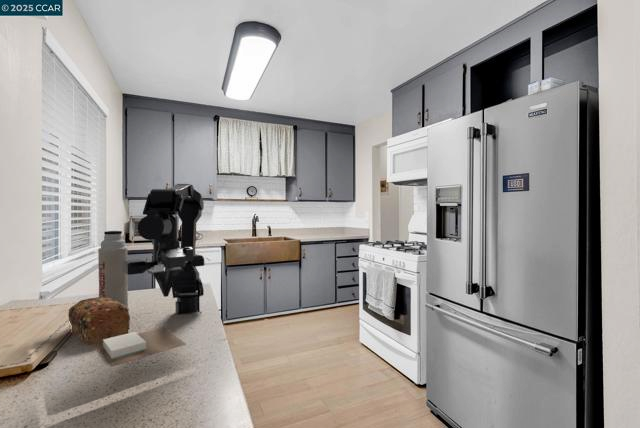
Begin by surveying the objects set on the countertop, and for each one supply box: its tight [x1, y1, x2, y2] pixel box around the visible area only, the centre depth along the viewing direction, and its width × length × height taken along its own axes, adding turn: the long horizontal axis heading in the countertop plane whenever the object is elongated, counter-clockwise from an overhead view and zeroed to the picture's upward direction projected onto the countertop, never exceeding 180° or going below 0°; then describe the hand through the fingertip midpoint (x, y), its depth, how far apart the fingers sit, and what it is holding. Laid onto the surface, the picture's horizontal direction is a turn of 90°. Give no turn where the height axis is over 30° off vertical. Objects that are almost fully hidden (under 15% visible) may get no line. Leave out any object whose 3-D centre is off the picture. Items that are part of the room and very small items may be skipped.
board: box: [95, 326, 187, 367], centre depth 79 cm, size 16×16×1 cm
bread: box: [68, 296, 131, 346], centre depth 88 cm, size 19×11×10 cm, turn 48°
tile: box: [102, 331, 146, 359], centre depth 76 cm, size 2×9×7 cm
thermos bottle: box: [97, 230, 129, 309], centre depth 104 cm, size 8×8×28 cm
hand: (165, 296), depth 83 cm, fingers closed
